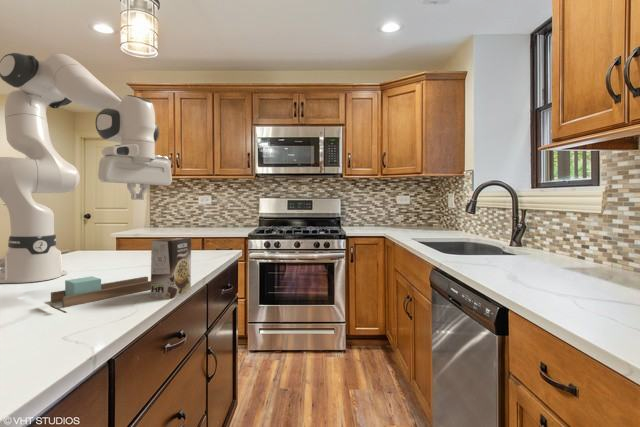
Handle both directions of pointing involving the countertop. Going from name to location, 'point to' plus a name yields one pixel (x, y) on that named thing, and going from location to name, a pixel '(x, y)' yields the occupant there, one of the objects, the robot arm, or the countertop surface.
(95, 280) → the block
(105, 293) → the chute
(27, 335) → the countertop surface
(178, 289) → the coffee box
